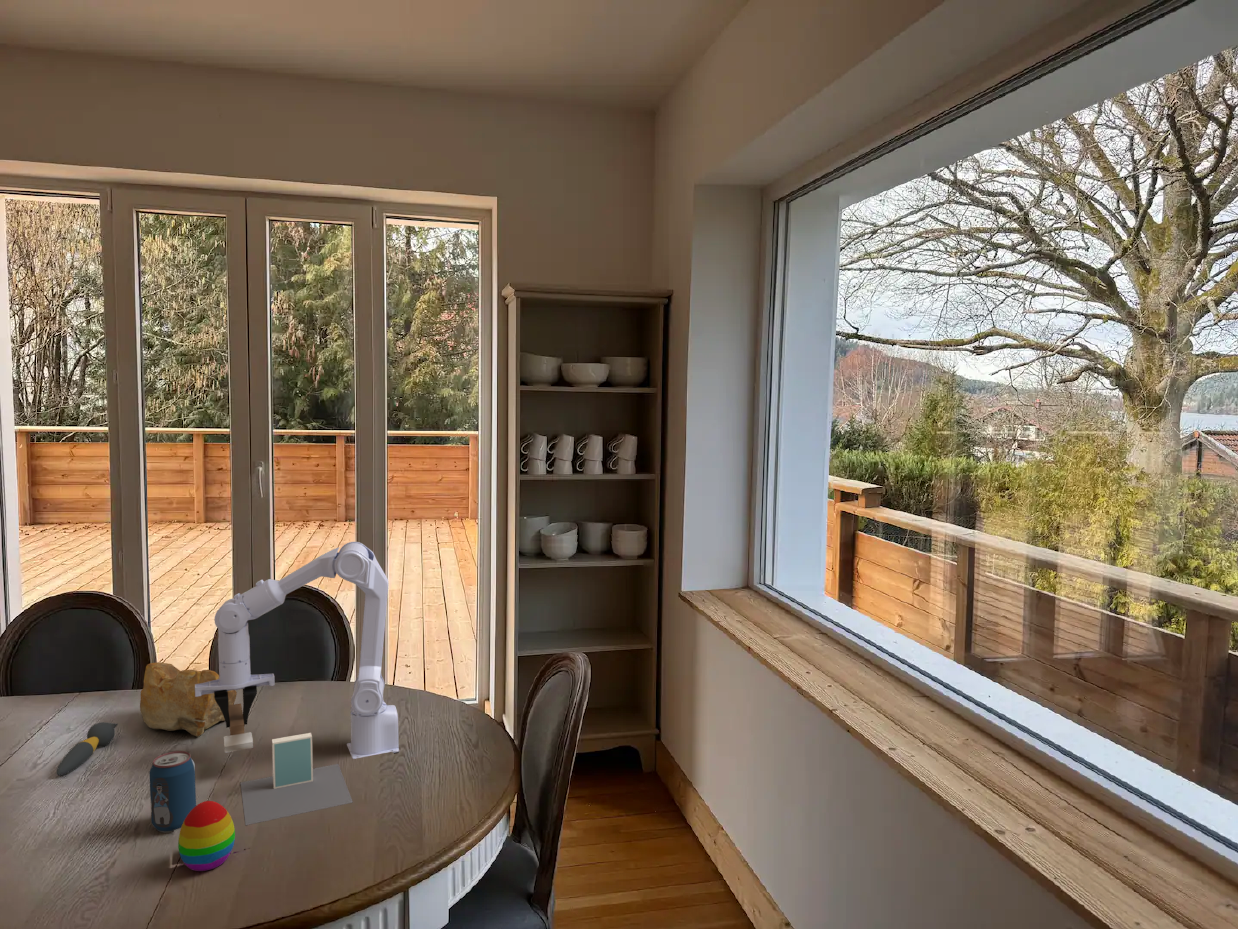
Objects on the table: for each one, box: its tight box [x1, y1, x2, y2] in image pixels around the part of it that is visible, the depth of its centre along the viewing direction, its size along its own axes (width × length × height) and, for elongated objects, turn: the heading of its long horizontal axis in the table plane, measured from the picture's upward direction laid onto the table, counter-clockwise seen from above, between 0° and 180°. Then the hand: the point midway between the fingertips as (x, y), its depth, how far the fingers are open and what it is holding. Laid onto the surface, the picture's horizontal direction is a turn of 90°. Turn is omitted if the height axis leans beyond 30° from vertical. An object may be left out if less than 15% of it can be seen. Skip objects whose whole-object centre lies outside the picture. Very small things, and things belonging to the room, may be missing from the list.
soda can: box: [148, 750, 197, 834], centre depth 142 cm, size 7×7×12 cm
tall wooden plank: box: [223, 702, 254, 754], centre depth 165 cm, size 5×17×3 cm, turn 27°
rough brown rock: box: [139, 661, 238, 737], centre depth 184 cm, size 23×16×15 cm
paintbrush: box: [55, 721, 119, 776], centre depth 168 cm, size 20×5×5 cm, turn 9°
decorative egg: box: [177, 800, 236, 872], centre depth 132 cm, size 8×8×10 cm
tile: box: [271, 732, 314, 789], centre depth 157 cm, size 7×2×9 cm, turn 118°
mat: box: [240, 763, 354, 826], centre depth 154 cm, size 18×17×1 cm
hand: (236, 724), depth 166 cm, fingers closed on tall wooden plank, 2 cm apart
